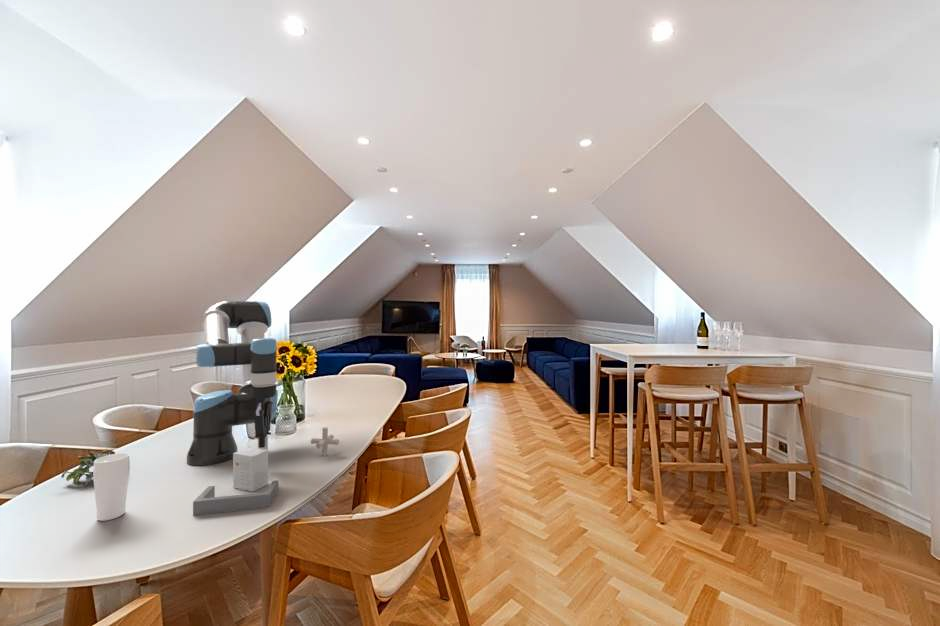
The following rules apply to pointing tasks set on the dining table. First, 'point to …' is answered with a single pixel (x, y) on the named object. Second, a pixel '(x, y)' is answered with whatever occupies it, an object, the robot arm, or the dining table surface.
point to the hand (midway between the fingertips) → (262, 455)
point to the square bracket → (233, 501)
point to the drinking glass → (111, 485)
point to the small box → (250, 469)
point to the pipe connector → (324, 441)
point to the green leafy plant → (89, 463)
